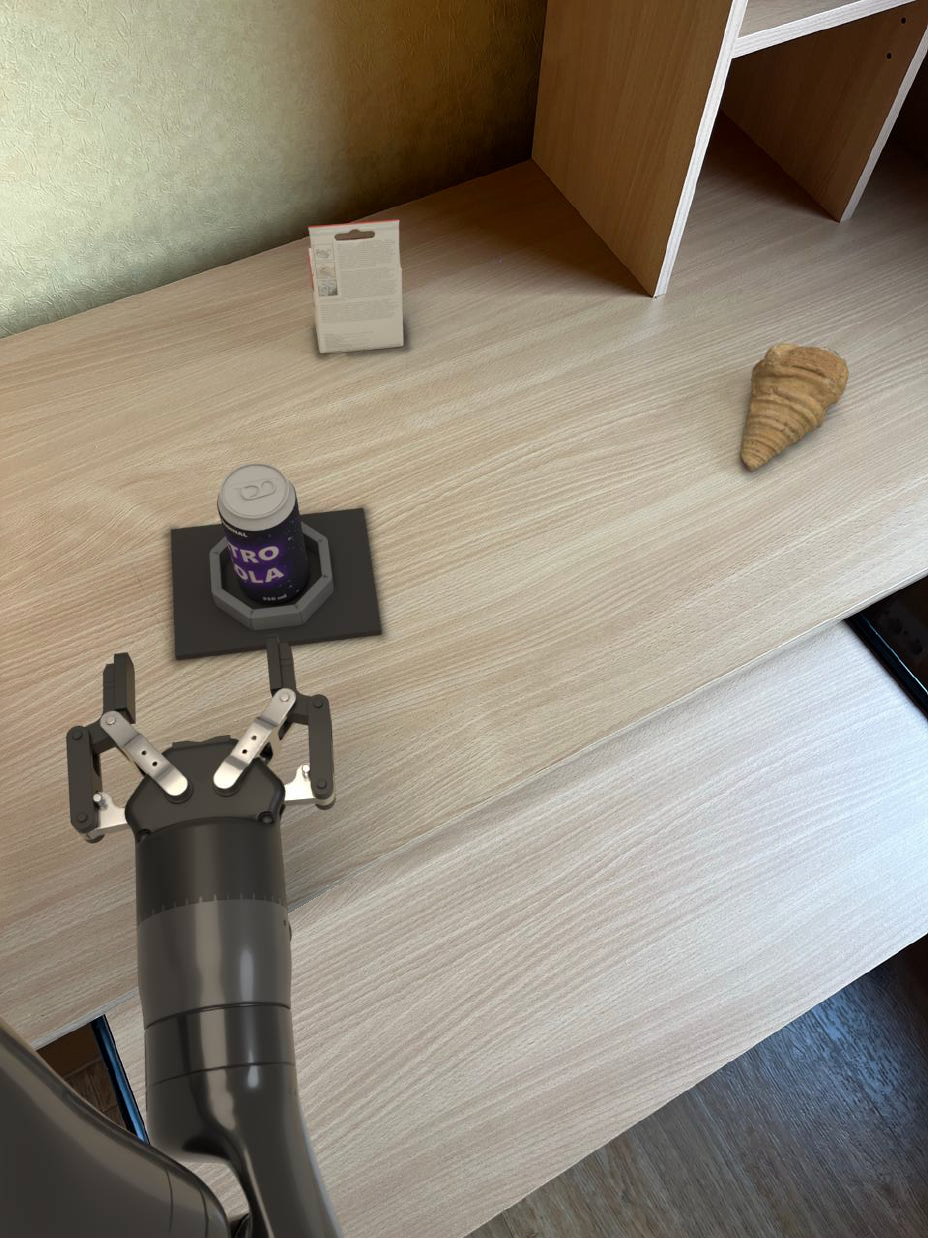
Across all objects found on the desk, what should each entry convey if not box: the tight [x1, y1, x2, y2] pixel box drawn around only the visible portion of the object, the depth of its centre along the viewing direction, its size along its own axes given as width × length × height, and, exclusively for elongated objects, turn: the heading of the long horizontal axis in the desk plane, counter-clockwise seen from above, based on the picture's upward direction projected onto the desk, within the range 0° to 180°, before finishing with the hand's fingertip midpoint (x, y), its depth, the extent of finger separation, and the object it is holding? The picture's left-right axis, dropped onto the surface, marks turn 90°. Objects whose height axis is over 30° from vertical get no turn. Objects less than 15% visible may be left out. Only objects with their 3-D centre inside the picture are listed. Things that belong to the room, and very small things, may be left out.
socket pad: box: [170, 507, 382, 661], centre depth 85 cm, size 16×12×3 cm
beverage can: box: [216, 462, 309, 604], centre depth 80 cm, size 6×6×12 cm
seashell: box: [739, 342, 850, 472], centre depth 94 cm, size 14×8×8 cm
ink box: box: [307, 219, 405, 355], centre depth 94 cm, size 4×8×15 cm, turn 99°
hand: (198, 649), depth 62 cm, fingers open, 8 cm apart
